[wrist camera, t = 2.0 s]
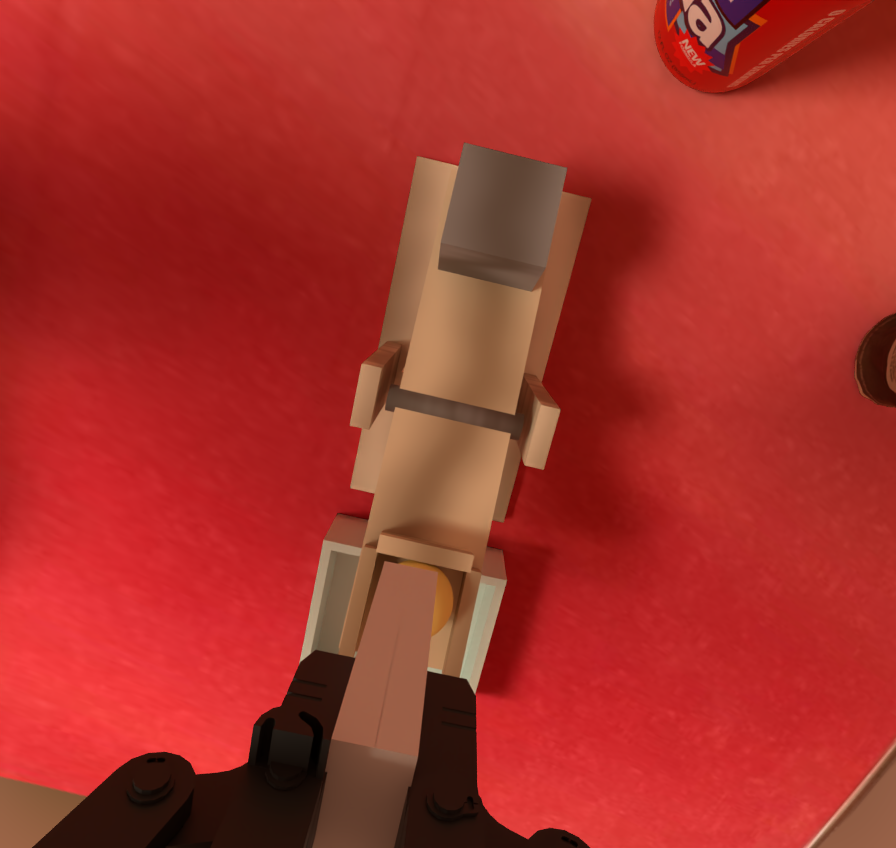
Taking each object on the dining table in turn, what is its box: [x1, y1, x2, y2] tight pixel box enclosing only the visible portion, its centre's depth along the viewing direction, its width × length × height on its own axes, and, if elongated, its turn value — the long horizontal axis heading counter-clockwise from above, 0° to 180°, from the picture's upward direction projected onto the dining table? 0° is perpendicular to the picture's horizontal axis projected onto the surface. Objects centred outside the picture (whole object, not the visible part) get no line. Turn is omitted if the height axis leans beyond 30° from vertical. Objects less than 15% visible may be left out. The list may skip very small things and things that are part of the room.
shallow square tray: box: [299, 513, 507, 694], centre depth 43 cm, size 12×12×4 cm
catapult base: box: [350, 156, 592, 522], centre depth 35 cm, size 11×22×11 cm, turn 167°
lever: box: [338, 143, 567, 678], centre depth 29 cm, size 7×25×5 cm, turn 167°
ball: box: [398, 560, 453, 637], centre depth 28 cm, size 4×4×4 cm
